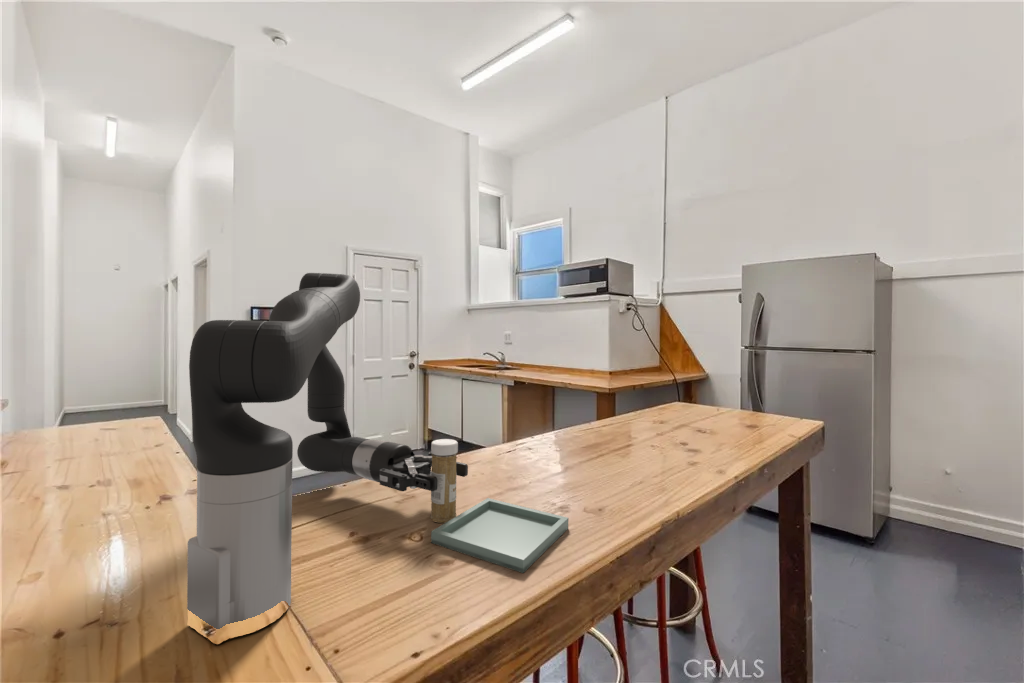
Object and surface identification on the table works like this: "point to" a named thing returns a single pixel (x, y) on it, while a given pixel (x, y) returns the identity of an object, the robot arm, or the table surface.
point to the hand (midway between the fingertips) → (452, 477)
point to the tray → (501, 533)
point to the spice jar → (444, 480)
